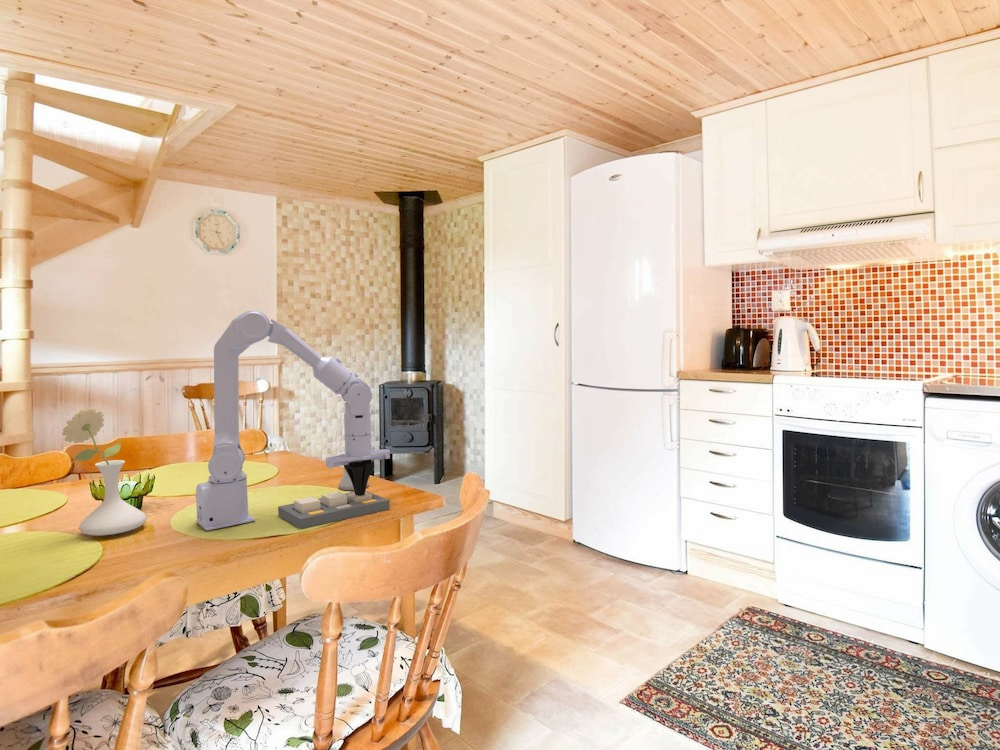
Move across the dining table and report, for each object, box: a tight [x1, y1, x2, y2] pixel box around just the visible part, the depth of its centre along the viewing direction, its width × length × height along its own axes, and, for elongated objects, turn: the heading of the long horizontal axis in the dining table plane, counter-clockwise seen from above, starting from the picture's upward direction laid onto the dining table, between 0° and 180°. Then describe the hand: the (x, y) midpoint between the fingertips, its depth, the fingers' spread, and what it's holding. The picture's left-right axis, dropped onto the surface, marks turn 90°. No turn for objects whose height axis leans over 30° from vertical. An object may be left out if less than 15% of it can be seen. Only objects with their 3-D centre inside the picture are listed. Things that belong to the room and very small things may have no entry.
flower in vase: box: [62, 407, 148, 537], centre depth 119 cm, size 13×11×25 cm
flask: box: [338, 468, 370, 491], centre depth 152 cm, size 7×7×10 cm
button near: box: [293, 496, 321, 513], centre depth 127 cm, size 4×4×2 cm
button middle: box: [321, 491, 347, 508], centre depth 131 cm, size 4×4×2 cm
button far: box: [347, 492, 372, 502], centre depth 135 cm, size 4×4×2 cm
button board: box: [277, 490, 391, 530], centre depth 131 cm, size 20×12×2 cm, turn 130°
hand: (359, 494), depth 135 cm, fingers closed, pressing on button far
